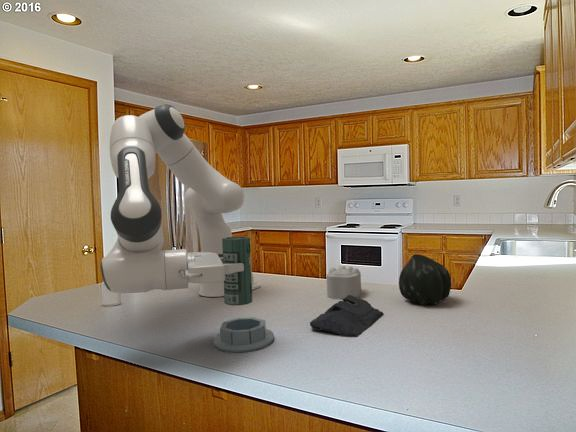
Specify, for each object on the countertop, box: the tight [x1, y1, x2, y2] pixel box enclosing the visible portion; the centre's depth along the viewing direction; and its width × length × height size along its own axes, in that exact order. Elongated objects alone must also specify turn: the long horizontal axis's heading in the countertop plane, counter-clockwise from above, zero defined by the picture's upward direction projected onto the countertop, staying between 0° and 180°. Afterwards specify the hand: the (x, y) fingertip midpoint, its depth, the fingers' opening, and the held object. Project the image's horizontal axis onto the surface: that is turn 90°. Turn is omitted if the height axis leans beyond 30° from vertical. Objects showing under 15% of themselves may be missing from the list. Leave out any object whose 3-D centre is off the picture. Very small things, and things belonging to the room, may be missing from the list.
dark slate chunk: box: [309, 295, 385, 338], centre depth 108 cm, size 15×22×5 cm
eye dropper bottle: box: [100, 280, 122, 307], centre depth 136 cm, size 4×6×12 cm
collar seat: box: [213, 316, 275, 354], centre depth 97 cm, size 14×14×4 cm
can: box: [222, 236, 253, 307], centre depth 96 cm, size 6×6×15 cm
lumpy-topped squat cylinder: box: [326, 265, 362, 300], centre depth 135 cm, size 10×13×9 cm
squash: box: [398, 253, 452, 306], centre depth 122 cm, size 14×15×15 cm
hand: (241, 264), depth 96 cm, fingers closed on can, 6 cm apart
